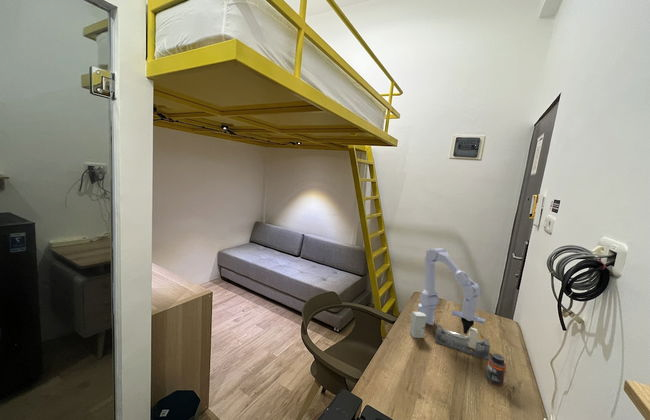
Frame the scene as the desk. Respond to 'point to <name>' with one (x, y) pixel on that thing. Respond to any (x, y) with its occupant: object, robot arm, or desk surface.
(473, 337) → the collar
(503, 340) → the desk surface
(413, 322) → the skincare box
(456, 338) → the pipe rig
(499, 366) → the supplement bottle
